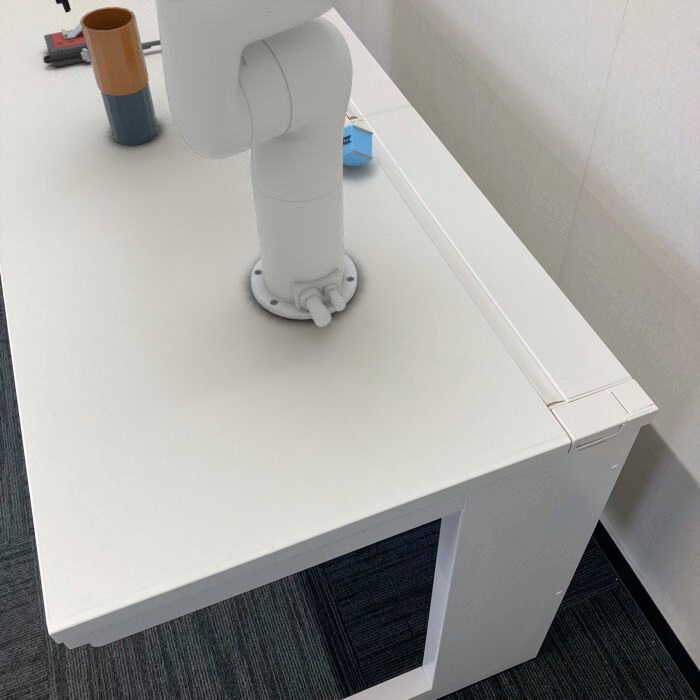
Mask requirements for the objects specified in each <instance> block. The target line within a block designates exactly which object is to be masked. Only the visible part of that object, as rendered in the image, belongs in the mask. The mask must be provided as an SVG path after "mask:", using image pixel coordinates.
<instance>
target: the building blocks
mask: <svg viewBox="0 0 700 700" xmlns="http://www.w3.org/2000/svg"><path fill="white" fill-rule="evenodd" d="M373 135H374V132H373V131H370V130H368V129H366V128H362V127H360V126H358V125H356V124H350V125H347V126H344V134H343V165H345V166H348V167H356V166H359V165H362V164H364V163H367V162H371V161H372V160H373V159H374V156H373Z"/></svg>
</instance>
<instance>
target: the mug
mask: <svg viewBox="0 0 700 700" xmlns="http://www.w3.org/2000/svg"><path fill="white" fill-rule="evenodd" d="M99 92H100V95H101V98H102V102H103V106H104V110H105V113H106V117H107V121H108V125H109V129H110V133H111V135H112V139H113V140H114V141H115V142H117V143H118V144H121V145H125V146H138V145H139V146H140V145H143V144H146V143H148V142H151V141H152V140H153V139H155V138H156V137H157V135H158V134H159V125H158V119H157V115H156V111H155V106H154V103H153V102H154V101H153V97H152V93H151V87H150V83H149V82H148V84H147V85H146V86H145V87H144V88H143V89H141V90H140V91H138V92H135V93H132V94H128V95H121V96H115V95H108V94H105V93H103V92H102V91H100V90H99Z"/></svg>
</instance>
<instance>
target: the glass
mask: <svg viewBox="0 0 700 700" xmlns="http://www.w3.org/2000/svg"><path fill="white" fill-rule="evenodd" d="M79 24H81V28H82V32H83V36H84V39H85V43H86V47H87V50H88V54H89V58H90V61H91V62H90V65H91V68H92V72H93V75H94V79H95V82H96V86H97V88H98V90H99V92H100V91H102V92H103V93H105V94H108V95H115V96H121V95H128V94H132V93H135V92H138V91H140V90H141V89H143V88H144V87H145V86H146V85H147V84H148V83H149V72H148V68H147V64H146V58H145V55H144V50H143V49H142V45H141V43H142V41H141V36H140V35H141V34H140V31H139V27H138V21H137V18H136V14H135V12H133V11H132V10H130V9H128V8H126V7H120V6H106V7H101V8H96V9H94V10H91V11H89V12H86V13H85V14H84V15H82V16H81V19H80V20H79Z"/></svg>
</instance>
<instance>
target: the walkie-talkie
mask: <svg viewBox="0 0 700 700" xmlns="http://www.w3.org/2000/svg"><path fill="white" fill-rule="evenodd" d="M43 38H44V42H45V44H46V48H47V51H48V54H46V55H44V56H43V58H42V60H43V63H45V64H51V65H52V66H57V67H62V66H67V65H72V64H73V65H74V64H79V63H83V62H86V63H91V61H90V58H89V54H88V50H87V47H86V43H85V39H84V36H83V32H82V28H81V24H80V23H78V24H77V25H76V26H75V27H74V28H73V29H70V30H66V28H61V31H59V32H54V33H49V34H45V35H43ZM141 45H142V49H143V51H144V50H145V51H146V50H150V49H151V48H152V47H157V46H161V43H160V39H157V40H151V41H146V42H141Z"/></svg>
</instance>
